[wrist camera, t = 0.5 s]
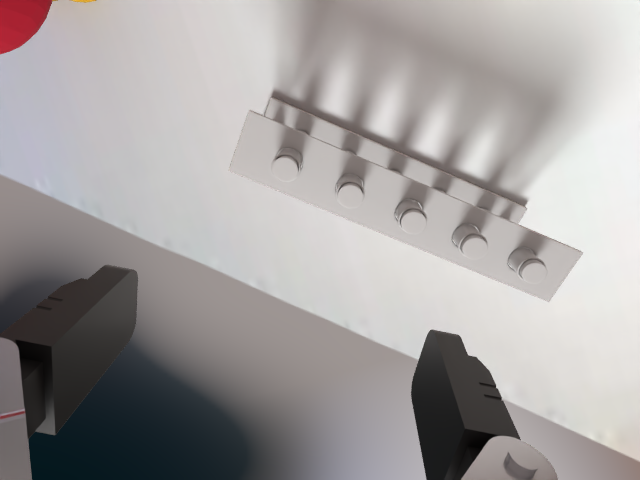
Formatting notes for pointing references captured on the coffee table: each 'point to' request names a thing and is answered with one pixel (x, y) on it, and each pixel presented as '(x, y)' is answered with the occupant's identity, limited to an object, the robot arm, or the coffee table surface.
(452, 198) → the test tube rack
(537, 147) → the coffee table surface
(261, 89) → the coffee table surface
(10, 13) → the toy
